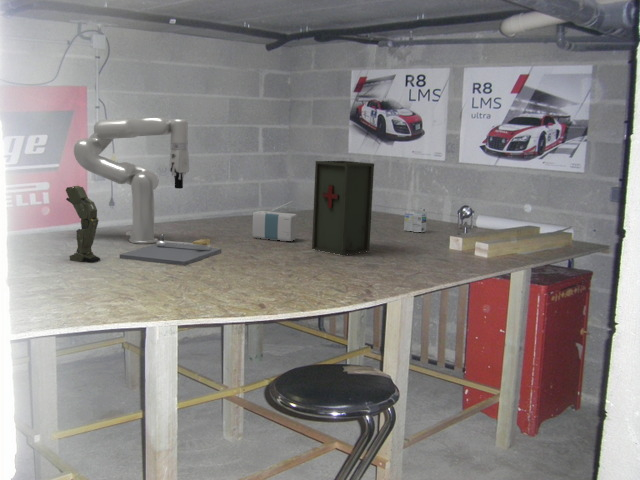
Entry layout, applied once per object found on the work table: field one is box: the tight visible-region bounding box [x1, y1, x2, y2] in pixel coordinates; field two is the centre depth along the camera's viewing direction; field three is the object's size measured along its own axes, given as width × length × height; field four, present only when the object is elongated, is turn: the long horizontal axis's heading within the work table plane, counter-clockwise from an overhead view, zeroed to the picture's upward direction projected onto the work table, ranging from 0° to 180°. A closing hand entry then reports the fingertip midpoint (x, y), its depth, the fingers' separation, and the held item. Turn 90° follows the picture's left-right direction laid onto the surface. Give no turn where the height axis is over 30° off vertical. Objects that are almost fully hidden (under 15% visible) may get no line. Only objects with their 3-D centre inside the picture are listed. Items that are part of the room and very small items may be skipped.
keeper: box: [192, 238, 211, 245], centre depth 286 cm, size 3×10×4 cm, turn 162°
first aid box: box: [311, 160, 375, 256], centre depth 304 cm, size 18×18×40 cm
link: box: [156, 233, 212, 250], centre depth 288 cm, size 24×5×5 cm, turn 76°
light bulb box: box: [403, 211, 427, 232], centre depth 374 cm, size 11×7×11 cm, turn 58°
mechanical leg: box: [65, 185, 101, 264], centre depth 261 cm, size 14×7×30 cm, turn 71°
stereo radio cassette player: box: [251, 199, 298, 242], centre depth 328 cm, size 21×8×20 cm, turn 68°
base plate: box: [119, 243, 222, 266], centre depth 281 cm, size 29×32×2 cm
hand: (178, 188), depth 305 cm, fingers closed
